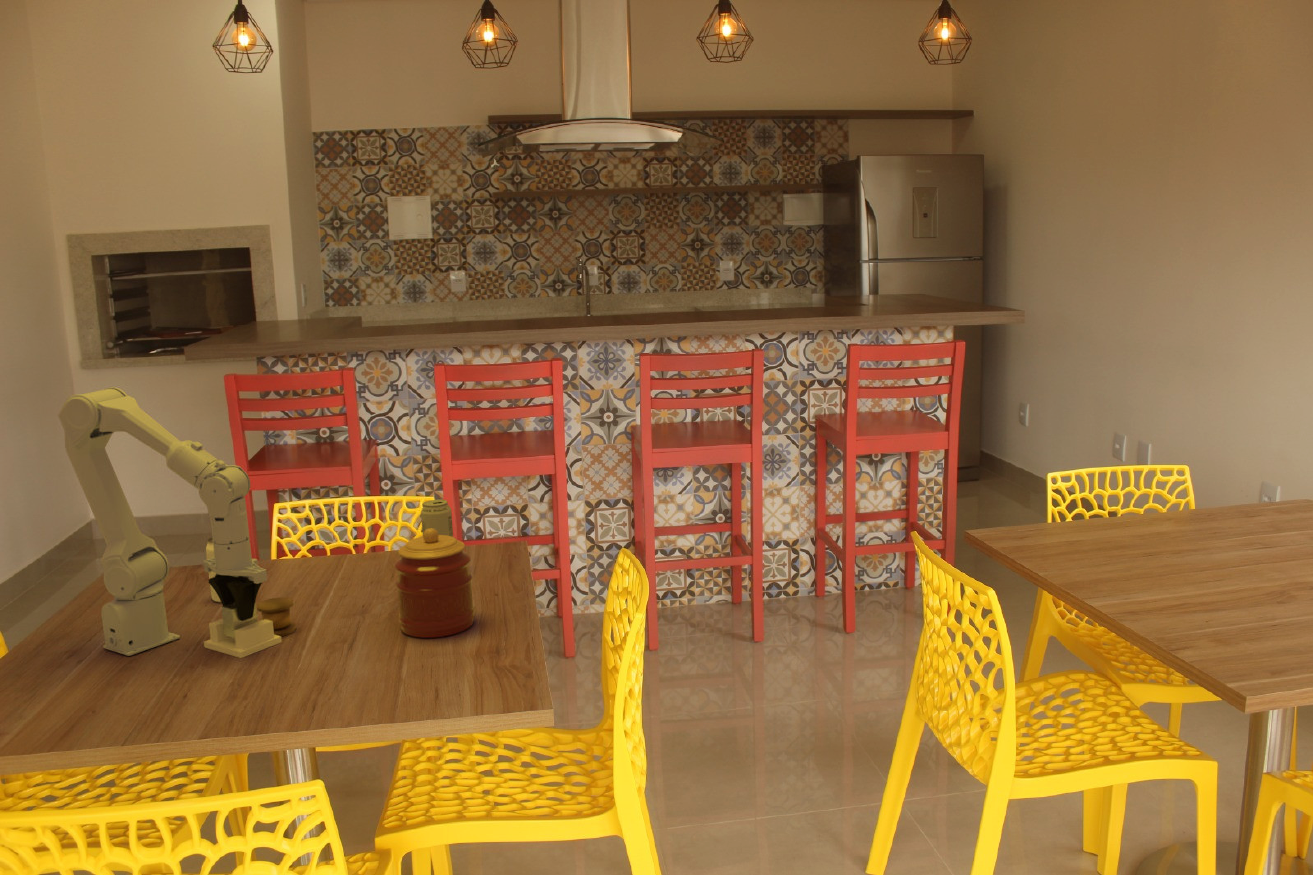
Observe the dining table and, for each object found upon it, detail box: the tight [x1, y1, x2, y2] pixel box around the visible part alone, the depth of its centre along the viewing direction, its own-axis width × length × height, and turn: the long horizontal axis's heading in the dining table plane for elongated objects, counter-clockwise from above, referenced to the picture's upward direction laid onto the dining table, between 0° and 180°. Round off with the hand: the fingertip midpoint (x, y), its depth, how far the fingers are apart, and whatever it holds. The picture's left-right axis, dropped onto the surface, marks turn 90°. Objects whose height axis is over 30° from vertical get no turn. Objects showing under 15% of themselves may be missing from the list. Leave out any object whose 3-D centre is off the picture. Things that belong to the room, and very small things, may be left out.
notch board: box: [203, 618, 282, 659], centre depth 179 cm, size 8×10×4 cm
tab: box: [221, 601, 259, 638], centre depth 178 cm, size 3×4×5 cm, turn 147°
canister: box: [394, 528, 476, 639], centre depth 183 cm, size 13×13×18 cm
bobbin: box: [256, 597, 297, 638], centre depth 185 cm, size 6×6×5 cm
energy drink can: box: [420, 499, 454, 537], centre depth 213 cm, size 6×6×15 cm
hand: (240, 617), depth 178 cm, fingers closed on tab, 3 cm apart
